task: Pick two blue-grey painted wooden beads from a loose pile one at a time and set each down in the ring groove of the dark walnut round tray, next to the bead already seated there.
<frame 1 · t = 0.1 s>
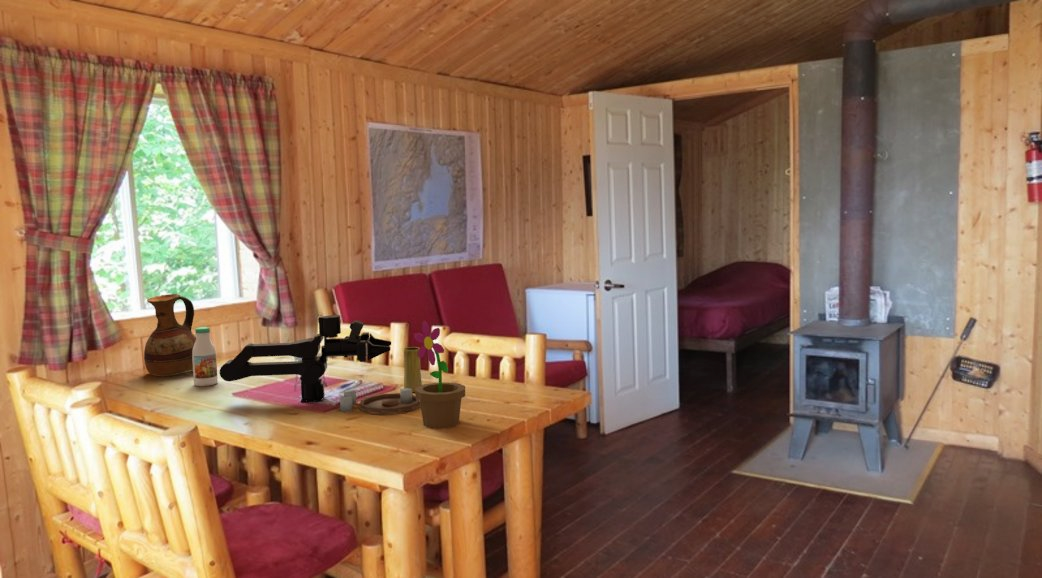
hand: (390, 345, 248), 17 cm above the table, tool horizontal, fingers open, 9 cm apart
bead a: (350, 403, 242), on the table
vase: (413, 391, 257), on the table
flowerpot: (441, 424, 219), on the table
bead b: (346, 410, 234), on the table
milk bottle: (205, 384, 270), on the table
bead seated: (406, 402, 240), point 1 cm above the table, touching tray
tray: (390, 406, 237), on the table
ceramic pitcher: (175, 374, 287), on the table
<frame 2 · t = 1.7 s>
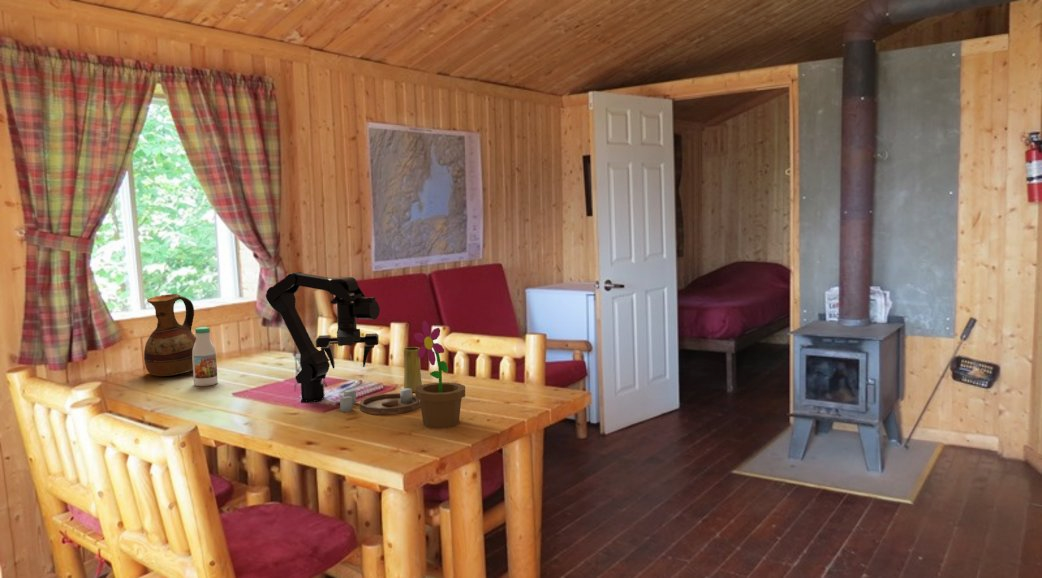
hand: (348, 367, 240), 11 cm above the table, tool pointing down, fingers open, 9 cm apart
nothing on the table moved.
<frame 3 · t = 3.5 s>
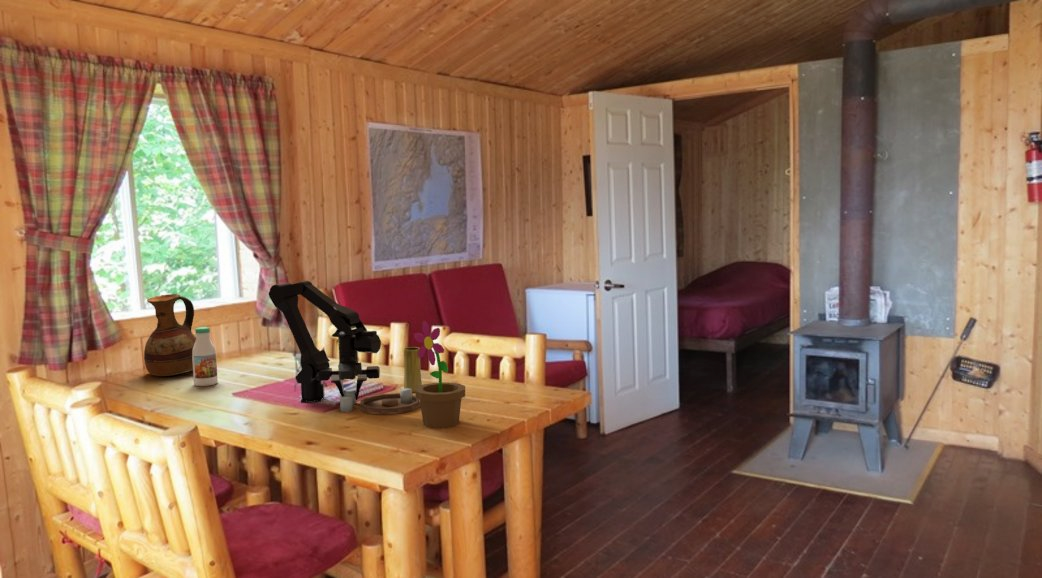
hand: (350, 400, 241), 1 cm above the table, tool pointing down, fingers closed on bead a, 4 cm apart
bead a: (350, 403, 242), on the table, touching gripper
everything else where it was.
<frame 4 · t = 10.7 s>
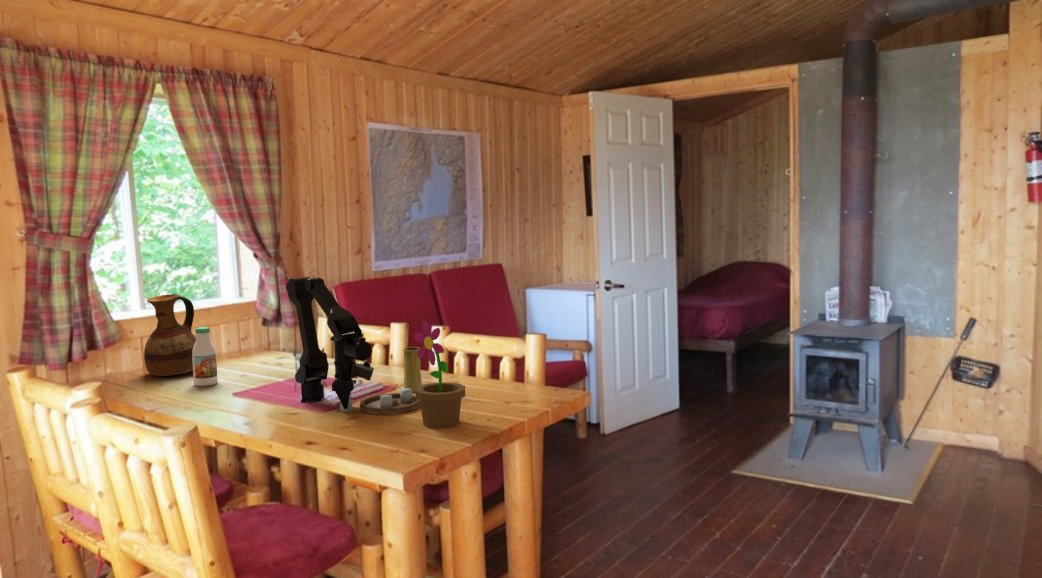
hand: (346, 407, 233), 1 cm above the table, tool pointing down, fingers closed on bead b, 4 cm apart
bead a: (386, 409, 232), point 1 cm above the table, touching tray
bead b: (346, 410, 234), on the table, touching gripper
everything else where it was.
when the fingers open (3 cm above the table, at t = 14.0 s): bead b drops 2 cm, resting on tray.
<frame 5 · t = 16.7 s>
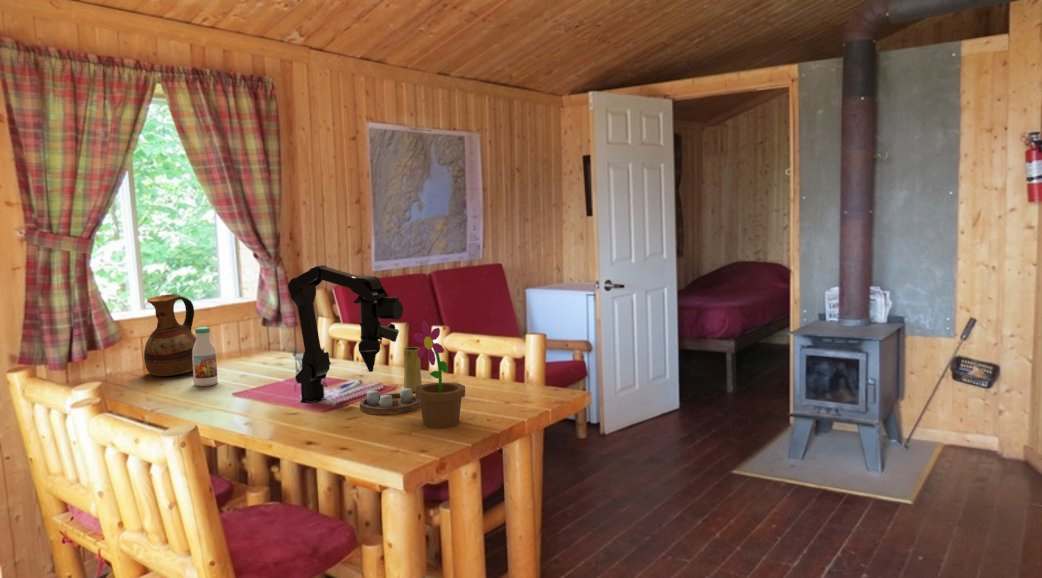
hand: (371, 368, 236), 12 cm above the table, tool pointing down, fingers open, 9 cm apart
bead b: (373, 404, 237), point 1 cm above the table, touching tray
everything else where it was.
at the end: bead a 0.2 cm from the target spot on the tray, point 0.6 cm above the tray's base; bead b 0.2 cm from the target spot on the tray, point 0.6 cm above the tray's base; bead b tilted 0° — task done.
